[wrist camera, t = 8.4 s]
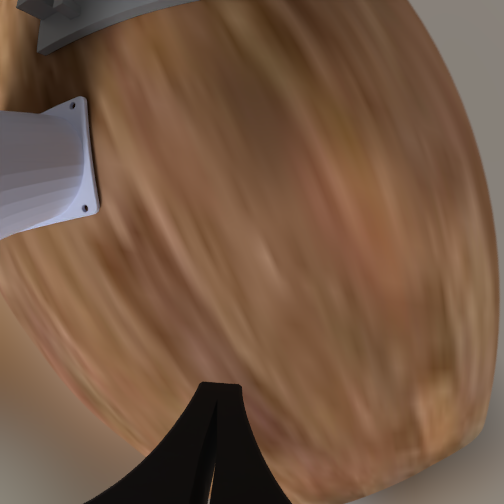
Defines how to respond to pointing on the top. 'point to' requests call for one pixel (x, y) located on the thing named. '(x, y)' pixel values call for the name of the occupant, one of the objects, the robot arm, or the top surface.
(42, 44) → the rod slider bracket
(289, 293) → the top surface
